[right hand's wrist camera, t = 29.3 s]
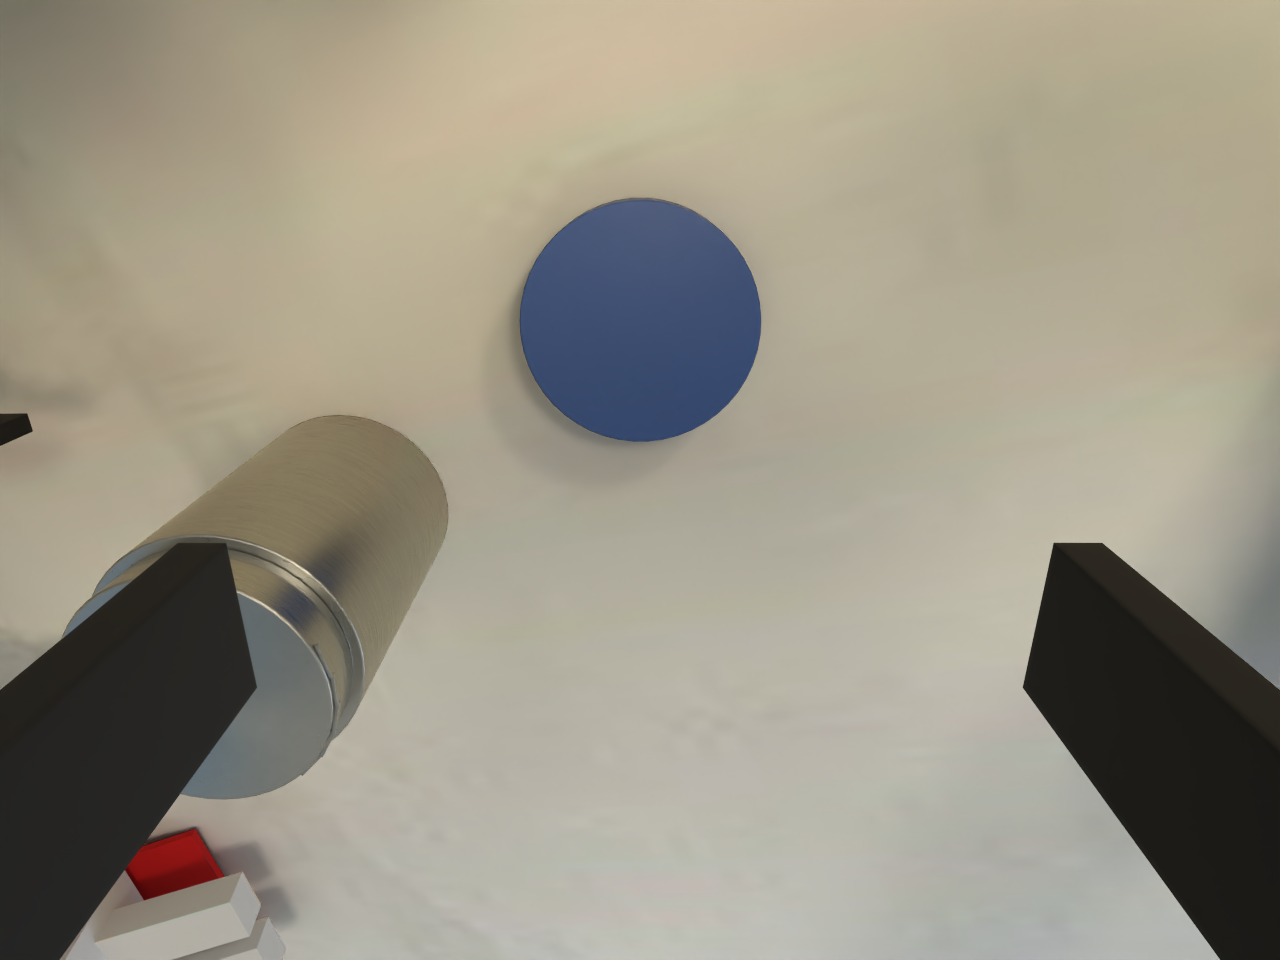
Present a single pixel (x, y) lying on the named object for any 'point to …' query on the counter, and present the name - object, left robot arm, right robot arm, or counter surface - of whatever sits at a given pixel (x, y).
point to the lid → (640, 320)
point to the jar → (306, 584)
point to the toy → (177, 911)
